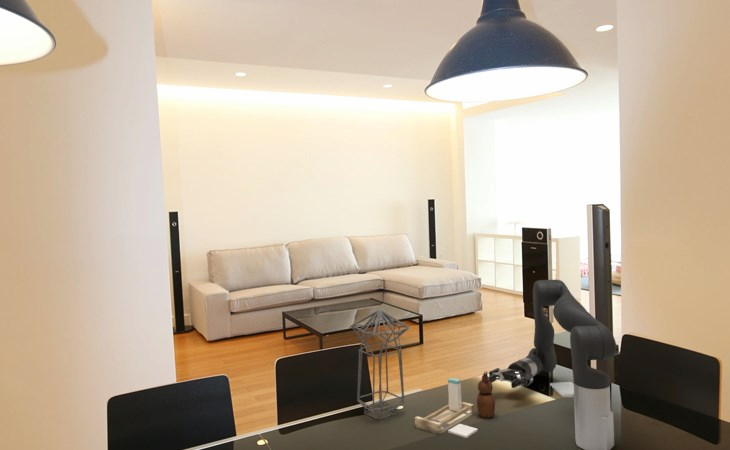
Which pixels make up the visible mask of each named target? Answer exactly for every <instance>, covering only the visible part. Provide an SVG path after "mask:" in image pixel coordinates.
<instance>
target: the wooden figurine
mask: <svg viewBox="0 0 730 450" xmlns="http://www.w3.org/2000/svg"><path fill="white" fill-rule="evenodd" d="M488 377H489V373H488V371H484V373H483V374H482V376H481V380H480V381H479V382H478V384H477V390H478V393H477V395H476V408H477V412H478V414H479V415H480V417H483V418H491V417H493V416H494V414H495V409H496V400H495V399H496V398H495V395H494V394H493V390H494V389H493V387H494V386H493V383H491V382H490V381H488Z"/></svg>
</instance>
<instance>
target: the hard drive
mask: <svg viewBox="0 0 730 450" xmlns="http://www.w3.org/2000/svg"><path fill="white" fill-rule="evenodd" d="M549 386H550V387H551V386H552V387H551V388H552V389H553V388H554V389H555V390H554V389H553V390H554V391H555V392H557V393H558V394H559V395H560V396H561V397H562V398H574V382H572V381H560V382H558V381H557V382H550V383H549Z"/></svg>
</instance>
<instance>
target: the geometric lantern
mask: <svg viewBox="0 0 730 450" xmlns="http://www.w3.org/2000/svg"><path fill="white" fill-rule="evenodd" d="M367 319H368V320H367ZM366 320H367V321H366ZM364 321H366V322H365V323H364V324H360V323H361V322H364ZM381 323H382V324H383V329H384V332H380V328H381V327H380V326H381ZM398 324H399V325H398ZM386 325H387V326H388V328H389V329H390V331H391V332H388V330H387V326H386ZM373 326H374V328H373ZM359 327H360V328H359ZM348 328H351V329H352V330H353V331H354V332H355V334H356V335H357V336H358V340H359V341H360V340H361V341H360V348H359V349H358V350H357V351H358V365H357V366H358V371H357V394H356V395H357V397H356V398H357V399H356V400H357V402H358V404H360V405H361V407H363V408H364V411H363V412H364V415H365V414H366V416H367V417H370V416H371V417H370V418H372V417H373V419H375V420H377V419H378V421H379V420H380V419H381V420H384V419H386V418H389V417H391V415H392V416H394V415H396V414H397V409H398V408H399V407H401V406H402V405H404V404H405V392H404V374H403V373H404V372H403V356H402V348H401V342H400V338H401V336H402V335H403V334H404V333H406V332H407V331H408V330H409V329H410V326H409V325H407V324H406V323H404V322H402V321H401V320H399V319H397V318H395V317H393V316H392V315H390V314H389V313H387V312H385V311H384V310H381V309H380V310H375V311H374V312H372V313H370V314H369V315H367V316H365V317H363V318H362V319H360V320H358V321H356V322H354V323H353V324H350V325H349V327H348ZM368 328H370V331H368ZM377 328H378V330H377ZM396 328H398V330H397V331H395V329H396ZM401 328H402V329H401ZM357 330H358V331H357ZM377 331H378V332H377ZM360 332H361V333H362V336H361V335H360ZM376 332H377V333H378V334H377V333H376ZM366 335H369V336H368V337H366V338H365V336H366ZM384 335H386V337H385V336H384ZM373 336H375V337H376V338H377V340H378V341H379V342H380V343H377V344H373V345H369V343H368V340H369V339H370V338H372V337H373ZM378 336H380V337H381V338H382V339H384V340H385V341H386V342H385V343H383V342H382V341H381V339H379V337H378ZM392 336H393V337H394V338H392V339H391V337H392ZM397 339H398V342H397ZM364 342H365V344H366V346H363V344H364ZM391 342H394V343H395V347H394V346H391V345H390V344H388V343H391ZM398 345H399V346H398ZM376 346H379V347H380V349H379V350H380V351H379V353H378V354H374V352H373V351H372V348H371V347H376ZM387 347H389V348H391V349H395V350H397V351H393V352H389V353H388V348H387ZM367 348H368V350H369V351H370V352H369V353H368V352H367V351H364V350H363V349H367ZM384 349H385V351H384ZM383 351H384V352H385V353H384V354H383ZM363 353H364V354H367V355H369V356H371V357H372V392H371V393H368V394H367V393H366V394H364V395H363V394H362V395H361V383H362V380H361V379H362V369H363V368H362V366H363ZM392 354H393V355H394V354H397V355H398V365H399V366H398V367H399V377H400V378H399V381H400V388H401V389H400V390H401V396H398V395H396V394H395V393H392V392H390V391H389V373H388V372H389V371H388V355H392ZM384 356H385V376H386V377H385V380H386V381H385V382H386V383H385V384H386V390H382V363H383V362H382V357H384ZM376 357H377V358H378V360H377V361H378V377H379V378H378V380H379V382H378V383H379V385H378V386H379V387H378V391H375V378H376V377H375V367H376V364H375V363H376V361H375V360H376V359H375V358H376ZM383 393H385V394H384V396H383V395H382V394H383ZM375 394H378V401H375ZM387 394H388V395H391V396H393V397H396V398H398V399H400V401H399V402H398V403H395V404H391V403H389V402H386V401H384V400H385V399H386V396H387ZM371 395H372V403H370V404H367V403H365V402H364V401H362V400H361V399H362V398H365V397H368V396H371ZM377 403H378V406H377V407H375V404H377ZM384 404H386V405H388V406H384ZM393 407H394V408H393ZM379 410H380V412H378V411H379ZM383 410H385V411H383ZM370 412H372V413H375V414H377V417H375V416H373V415H370V414H369V413H370ZM387 412H392V413H391V414H389V415H386V416H384V417H383V414H385V413H387Z"/></svg>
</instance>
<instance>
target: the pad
mask: <svg viewBox="0 0 730 450" xmlns="http://www.w3.org/2000/svg"><path fill="white" fill-rule="evenodd" d="M477 432H478V428H476V427H472V426H469V425H466V424H462V423H458V424H456V425H454V426H453V427H451V428H449V429H448V430H447V433H449V434H452V435H455V436H459V437H461V438H464V439H467V438H469V437H470V436H471V435H473V434H475V433H477Z"/></svg>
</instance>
